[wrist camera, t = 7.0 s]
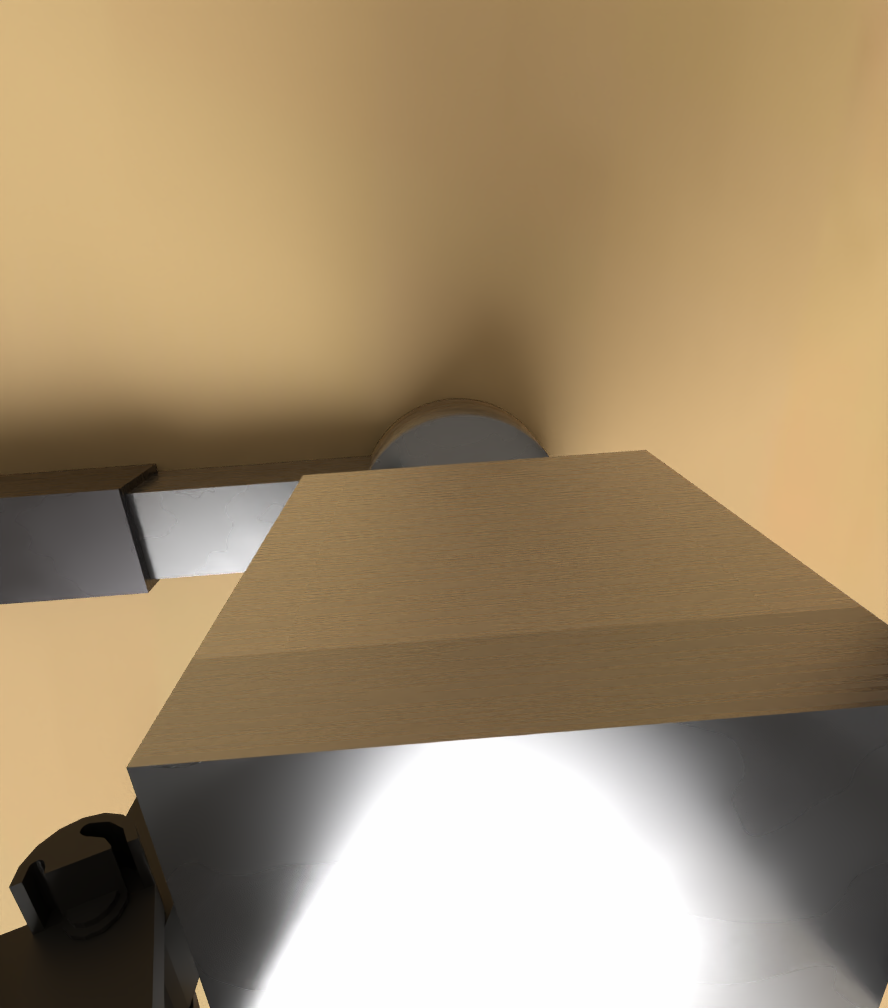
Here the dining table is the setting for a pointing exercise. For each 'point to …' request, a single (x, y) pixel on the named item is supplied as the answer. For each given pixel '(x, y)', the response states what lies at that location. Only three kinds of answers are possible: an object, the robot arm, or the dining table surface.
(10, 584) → the ratchet
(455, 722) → the brushed metal cube
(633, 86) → the dining table surface
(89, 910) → the robot arm
